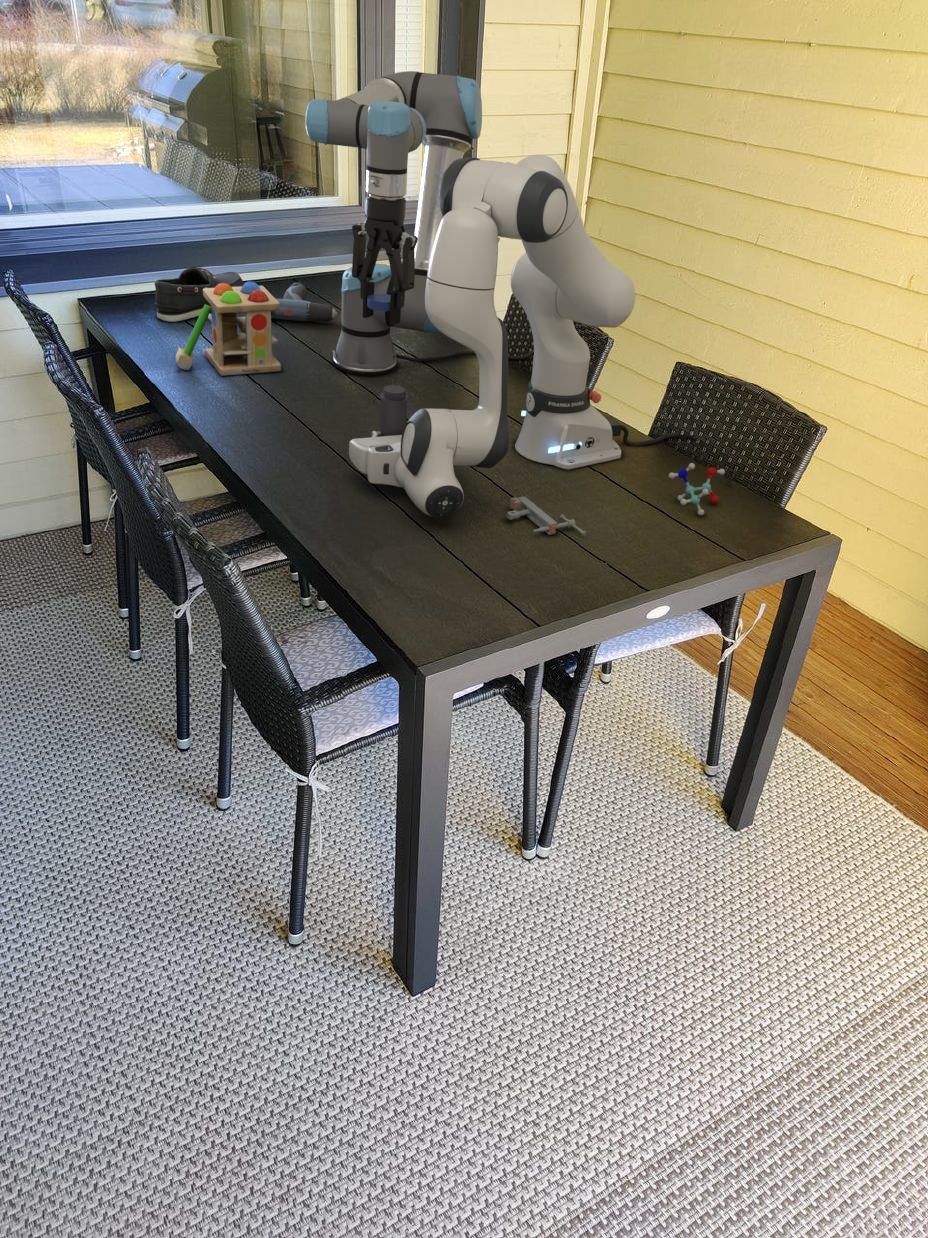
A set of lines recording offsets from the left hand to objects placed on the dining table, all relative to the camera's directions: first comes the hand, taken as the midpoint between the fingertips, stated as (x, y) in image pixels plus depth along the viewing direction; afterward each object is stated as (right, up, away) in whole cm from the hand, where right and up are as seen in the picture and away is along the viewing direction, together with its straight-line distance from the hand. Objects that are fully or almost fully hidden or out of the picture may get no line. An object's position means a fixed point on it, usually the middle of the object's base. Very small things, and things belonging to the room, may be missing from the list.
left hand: (381, 319), depth 195 cm
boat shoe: (-54, +25, +70) cm, 92 cm away
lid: (0, +3, -2) cm, 4 cm away
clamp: (+30, -43, -17) cm, 55 cm away
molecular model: (+60, -37, -5) cm, 71 cm away
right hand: (+2, -23, -4) cm, 24 cm away
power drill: (-27, +24, +72) cm, 80 cm away
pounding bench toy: (-40, 0, +35) cm, 53 cm away
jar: (+2, -29, -1) cm, 29 cm away
